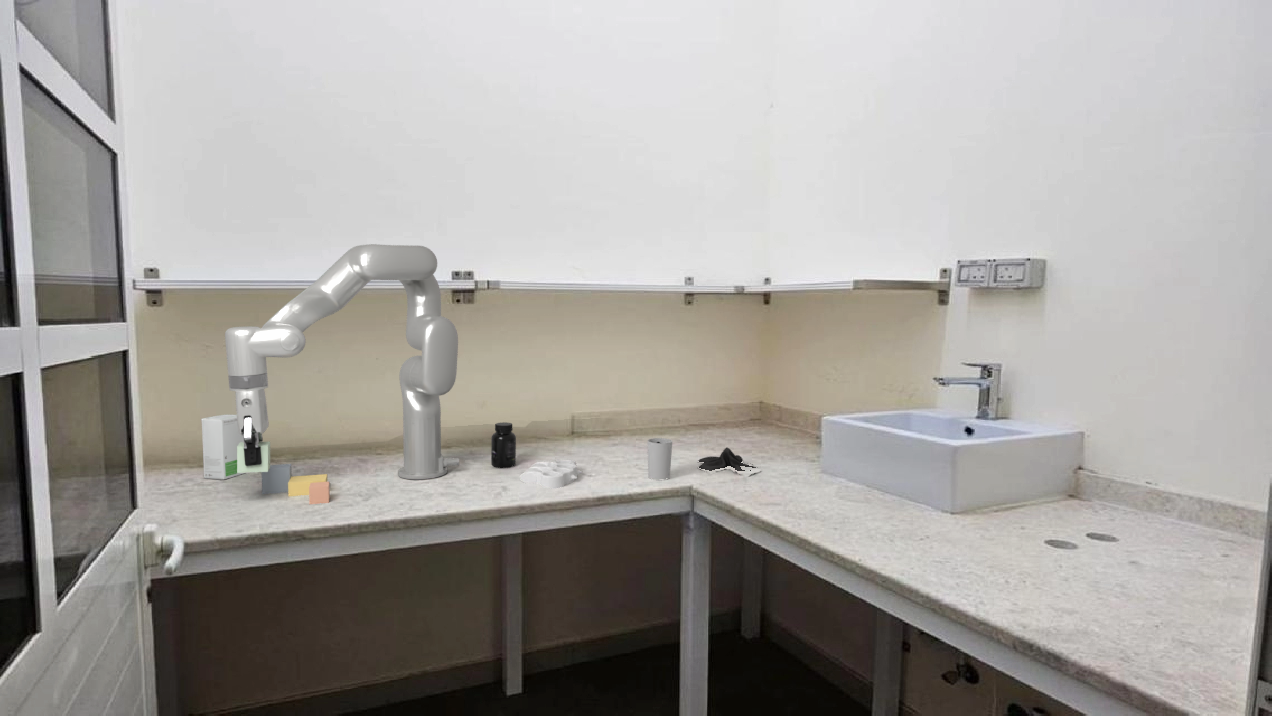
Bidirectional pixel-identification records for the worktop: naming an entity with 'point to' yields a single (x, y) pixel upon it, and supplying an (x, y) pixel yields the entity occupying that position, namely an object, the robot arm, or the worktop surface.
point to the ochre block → (303, 484)
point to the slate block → (276, 479)
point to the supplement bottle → (503, 446)
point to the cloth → (723, 461)
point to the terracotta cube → (319, 492)
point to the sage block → (254, 468)
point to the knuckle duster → (551, 473)
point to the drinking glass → (659, 458)
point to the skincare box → (220, 446)
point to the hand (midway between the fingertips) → (255, 461)
